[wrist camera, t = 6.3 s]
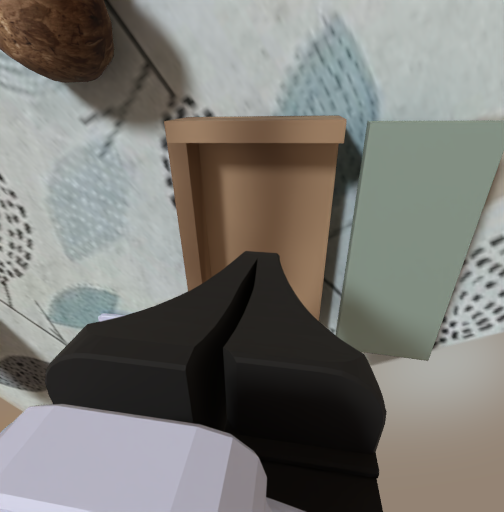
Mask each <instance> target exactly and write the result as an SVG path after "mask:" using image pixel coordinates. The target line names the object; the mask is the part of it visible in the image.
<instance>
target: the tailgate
mask: <svg viewBox="0 0 504 512" xmlns="http://www.w3.org/2000/svg"><path fill="white" fill-rule="evenodd" d="M503 151H504V121H368V122H367V129H366V135H365V142H364V149H363V155H362V162H361V169H360V175H359V182H358V189H357V195H356V202H355V209H354V215H353V222H352V229H351V235H350V242H349V249H348V255H347V262H346V269H345V275H344V282H343V289H342V295H341V302H340V309H339V315H338V322H337V329H336V336H337V337H338V338H340V339H341V340H343V341H344V342H346V343H347V344H349V345H350V346H352V347H353V348H355V349H357V350H358V351H360V352H366V353H374V354H381V355H389V356H396V357H404V358H412V359H419V360H426V361H428V360H429V357H430V354H431V351H432V348H433V346H434V343H435V340H436V337H437V335H438V332H439V329H440V326H441V323H442V321H443V318H444V315H445V312H446V310H447V307H448V304H449V301H450V299H451V296H452V293H453V290H454V287H455V285H456V282H457V279H458V276H459V274H460V271H461V268H462V265H463V262H464V260H465V257H466V254H467V251H468V249H469V246H470V243H471V240H472V237H473V235H474V232H475V229H476V226H477V224H478V221H479V218H480V215H481V212H482V210H483V207H484V204H485V201H486V199H487V196H488V193H489V190H490V187H491V185H492V182H493V179H494V176H495V174H496V171H497V168H498V165H499V162H500V160H501V157H502V154H503Z"/></svg>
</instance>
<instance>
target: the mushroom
mask: <svg viewBox="0 0 504 512" xmlns="http://www.w3.org/2000/svg"><path fill="white" fill-rule="evenodd" d="M0 49H1V50H2V51H3V52H4V53H6V54H7V55H8V56H9V57H11V58H13V59H14V60H16V61H17V62H19V63H20V64H22V65H24V66H25V67H27V68H28V69H30V70H32V71H34V72H36V73H38V74H40V75H42V76H45V77H47V78H49V79H52V80H54V81H59V82H88V81H92V80H95V79H97V78H98V77H99V76H100V75H101V74H102V73H103V71H104V70H105V69H106V67H107V66H108V65H109V63H110V62H111V60H112V58H113V56H114V42H113V32H112V23H111V20H110V17H109V14H108V12H107V9H106V6H105V3H104V0H0Z"/></svg>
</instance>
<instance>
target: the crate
mask: <svg viewBox="0 0 504 512" xmlns="http://www.w3.org/2000/svg"><path fill="white" fill-rule="evenodd" d="M164 124H165V131H166V138H167V145H168V152H169V159H170V166H171V173H172V181H173V188H174V195H175V202H176V209H177V216H178V223H179V230H180V237H181V244H182V251H183V258H184V265H185V272H186V279H187V286H188V291H190V290H192V289H194V288H196V287H197V286H199V285H201V284H202V283H204V282H205V281H207V280H208V279H210V278H211V277H213V276H214V275H216V274H217V273H219V272H220V271H221V270H223V269H224V268H225V267H226V266H228V265H229V264H230V263H231V262H233V261H234V260H235V259H236V258H237V257H239V256H240V255H241V254H242V253H243V252H245V251H254V252H269V253H278V255H279V256H280V262H281V266H282V269H283V271H284V274H285V276H286V278H287V280H288V282H289V284H290V286H291V287H292V289H293V291H294V292H295V294H296V295H297V297H298V298H299V300H300V301H301V302H302V304H303V305H304V306H305V307H306V309H307V310H308V311H309V312H310V313H311V314H312V315H313V316H314V317H315V318H316V319H317V320H318V321H319V315H320V306H321V297H322V288H323V279H324V270H325V261H326V252H327V243H328V235H329V226H330V217H331V208H332V199H333V190H334V181H335V172H336V163H337V154H338V145H339V143H344V137H345V129H346V119H344V118H342V117H340V116H252V117H186V118H181V119H175V120H169V121H164Z"/></svg>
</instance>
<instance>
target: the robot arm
mask: <svg viewBox="0 0 504 512" xmlns="http://www.w3.org/2000/svg"><path fill="white" fill-rule="evenodd" d="M98 320H99V322H96V323H91V324H87V325H86V326H85V327H84V328H83V329H82V330H81V331H80V332H79V333H78V334H77V335H76V337H75V338H74V339H73V340H72V341H71V342H70V343H69V344H68V345H67V346H66V347H65V348H64V349H63V350H62V351H61V352H60V353H59V354H58V355H57V356H56V357H55V359H54V360H53V361H52V362H51V363H50V365H49V366H48V368H47V370H46V375H45V383H46V387H47V390H48V394H49V396H50V398H51V400H52V402H53V404H51V405H36V406H31V407H28V408H27V409H26V410H25V411H24V412H23V413H22V414H21V415H20V416H18V417H17V418H16V419H15V421H14V422H13V423H11V424H9V425H8V426H7V427H6V428H5V429H4V430H3V431H2V432H1V433H0V512H383V510H382V505H381V499H380V495H379V490H378V484H377V479H376V478H378V476H379V468H378V463H377V458H376V453H375V452H376V449H377V446H378V443H379V440H380V437H381V434H382V431H383V428H384V425H385V418H386V409H385V404H384V400H383V396H382V393H381V390H380V388H379V385H378V383H377V381H376V378H375V376H374V374H373V371H372V369H371V367H370V365H369V363H368V361H367V359H366V357H365V355H364V354H363V353H361V352H360V351H358V350H357V349H355V348H353V347H352V346H350V345H349V344H347V343H346V342H344V341H343V340H341V339H340V338H338V337H337V336H336V335H334V334H333V333H332V332H330V331H329V330H328V329H327V328H325V327H324V326H323V325H322V324H321V323H320V322H319V321H318V320H317V319H316V318H315V317H314V316H313V315H312V314H311V313H310V312H309V311H308V310H307V309H306V307H305V306H304V305H303V304H302V302H301V301H300V300H299V298H298V297H297V295H296V294H295V292H294V291H293V289H292V287H291V286H290V284H289V282H288V280H287V278H286V276H285V274H284V271H283V269H282V266H281V262H280V256H279V255H278V253H269V252H254V251H245V252H243V253H242V254H241V255H240V256H239V257H237V258H236V259H235V260H234V261H233V262H231V263H230V264H229V265H228V266H226V267H225V268H224V269H223V270H221V271H220V272H219V273H217V274H216V275H214V276H213V277H211V278H210V279H208V280H207V281H205V282H204V283H202V284H201V285H199V286H197V287H196V288H194V289H192V290H190V291H188V292H186V293H184V294H182V295H180V296H178V297H175V298H173V299H171V300H168V301H166V302H164V303H161V304H159V305H156V306H154V307H151V308H148V309H145V310H142V311H139V312H135V313H132V314H129V315H117V314H106V313H102V314H101V315H100V316H99V317H98Z"/></svg>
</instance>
